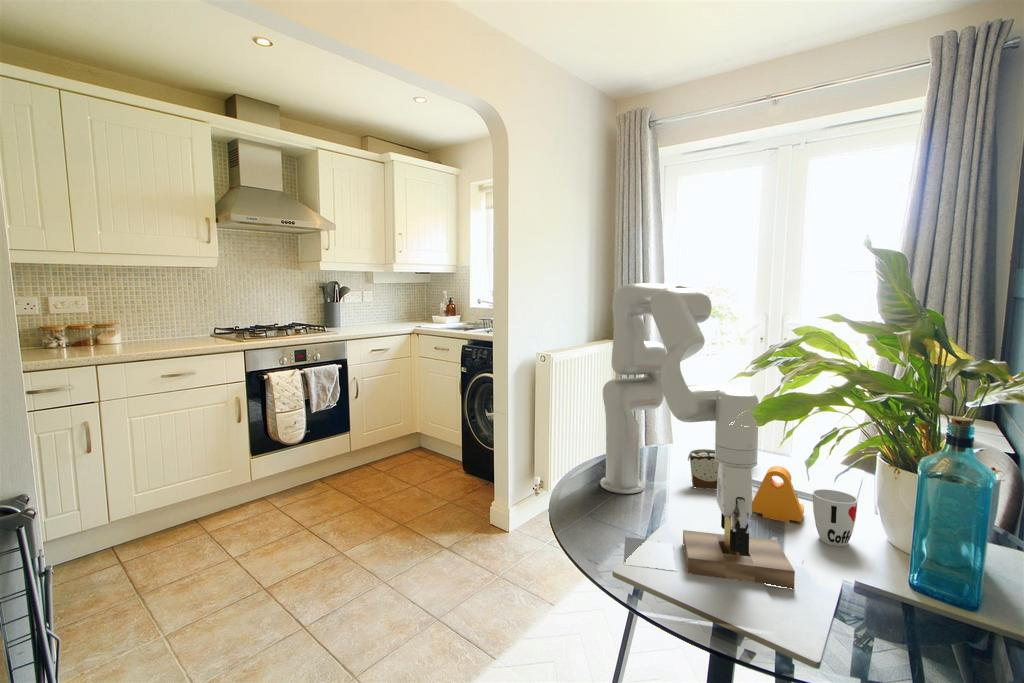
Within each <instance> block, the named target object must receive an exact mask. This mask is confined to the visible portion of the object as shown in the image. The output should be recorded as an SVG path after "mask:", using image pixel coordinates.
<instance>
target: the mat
mask: <svg viewBox="0 0 1024 683" xmlns="http://www.w3.org/2000/svg"><path fill="white" fill-rule="evenodd" d="M624 539H625V542H624V555H623V556H624V557H623V563H624V562H626V559H627V558H628V557H629V556H630V555H632V553H633V552H634V551H635V550H636V549H637V548H638V547H639V546H641V545H642V543H644V542H645V541H646V540H648V538H647V539H645V538H638V537H629V536H625V538H624Z"/></svg>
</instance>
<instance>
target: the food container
mask: <svg viewBox="0 0 1024 683" xmlns="http://www.w3.org/2000/svg"><path fill="white" fill-rule="evenodd" d="M687 461H688V462H690V472H691V473H690V474H691V482H692V483H691V484H692V488H693V487H696V488H709V489H708V490H713V489H717V480H718V466H719V463H718V462H716V461H715V449H707V448H706V449H705V448H704V449H703V448H702V449H700V448H699V449H693V450H691V451H690V452H689V453H688V457H687Z"/></svg>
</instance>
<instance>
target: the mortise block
mask: <svg viewBox="0 0 1024 683" xmlns="http://www.w3.org/2000/svg"><path fill="white" fill-rule="evenodd" d="M683 544H684V547H683V551H684V550H685V553H684V557H685V556H686V558H685V563H686V562H687V564H686V569H687V568H688V570H687V573H688V574H689V573H692V575H697V576H705V577H711V576H714V577H713V578H719V577H721V578H720V579H727V578H729V580H734V579H737V580H736V581H742V580H745V581H744V582H749V581H751V582H750V583H759V584H764V583H766V584H771V585H776V586H781V587H787V588H792V589H794V590H795V580H796V578H795V574H796V571H795V569H794V567H793V565H792V564H791V562H790V561H789V559H788V557H787V556H786V554H785V552H784V551H783V549H782V548H781V545H780V544H779V542H778V541H777V539H770V538H769V539H768V538H760V537H759V538H758V537H751V536H749V553H744V556H741V555H733V554H724V534H722V533H711V532H704V531H703V532H702V531H694V530H687V529H685V530H684V529H682V545H683Z"/></svg>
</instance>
